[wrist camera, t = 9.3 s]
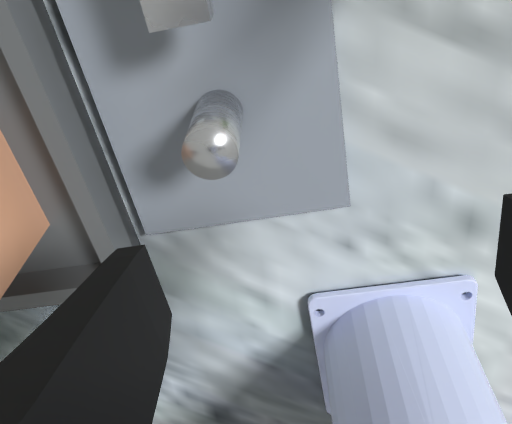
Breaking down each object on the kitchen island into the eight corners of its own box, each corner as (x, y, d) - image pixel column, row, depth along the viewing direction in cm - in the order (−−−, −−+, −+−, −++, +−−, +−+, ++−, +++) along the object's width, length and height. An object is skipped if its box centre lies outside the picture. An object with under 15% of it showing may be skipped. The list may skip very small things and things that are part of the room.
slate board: (348, 198, 21) (350, 206, 20) (148, 227, 22) (146, 235, 21) (307, -230, 13) (309, -235, 13) (5, -153, 14) (-5, -155, 14)
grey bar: (247, 130, 18) (243, 175, 16) (202, 138, 19) (189, 183, 16) (190, -139, 14) (169, -148, 11) (130, -125, 14) (94, -130, 11)
